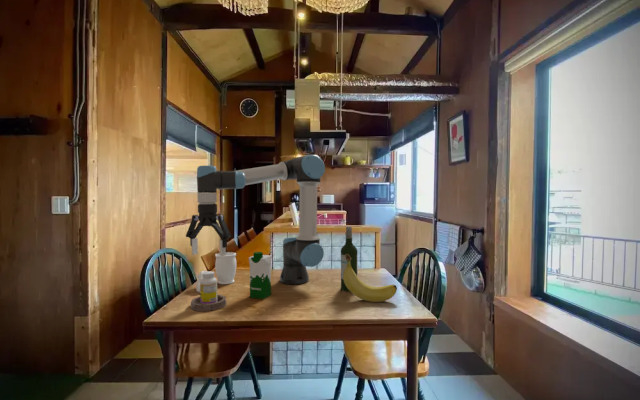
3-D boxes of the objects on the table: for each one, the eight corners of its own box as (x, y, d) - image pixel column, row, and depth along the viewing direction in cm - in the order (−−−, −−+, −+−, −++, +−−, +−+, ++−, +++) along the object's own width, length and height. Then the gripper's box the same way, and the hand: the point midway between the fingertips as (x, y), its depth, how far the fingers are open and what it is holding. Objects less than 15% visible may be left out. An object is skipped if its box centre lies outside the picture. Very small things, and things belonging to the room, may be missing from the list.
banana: (396, 299, 139) (396, 253, 138) (397, 304, 133) (397, 256, 133) (343, 297, 142) (343, 252, 142) (342, 302, 136) (342, 255, 136)
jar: (239, 280, 173) (239, 252, 172) (232, 285, 162) (231, 255, 162) (220, 279, 174) (219, 251, 173) (212, 285, 163) (211, 255, 163)
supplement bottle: (203, 300, 137) (202, 270, 136) (219, 300, 137) (218, 270, 137) (198, 306, 130) (197, 274, 130) (215, 305, 130) (214, 274, 130)
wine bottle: (360, 289, 155) (360, 226, 154) (350, 292, 149) (350, 228, 148) (347, 285, 160) (347, 225, 159) (337, 289, 154) (337, 226, 154)
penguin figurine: (211, 269, 160) (206, 277, 148) (212, 285, 161) (207, 295, 149) (198, 269, 159) (192, 278, 148) (198, 286, 160) (192, 296, 149)
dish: (233, 301, 138) (233, 295, 138) (212, 313, 125) (212, 306, 125) (205, 298, 142) (205, 293, 142) (183, 309, 129) (182, 303, 129)
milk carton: (247, 298, 142) (246, 253, 142) (257, 292, 151) (257, 249, 151) (264, 300, 140) (264, 254, 139) (274, 294, 148) (273, 250, 148)
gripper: (239, 202, 132) (240, 254, 133) (188, 203, 140) (189, 251, 140) (228, 203, 125) (229, 258, 126) (175, 203, 133) (177, 255, 133)
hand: (208, 254), depth 133 cm, fingers open, 13 cm apart
